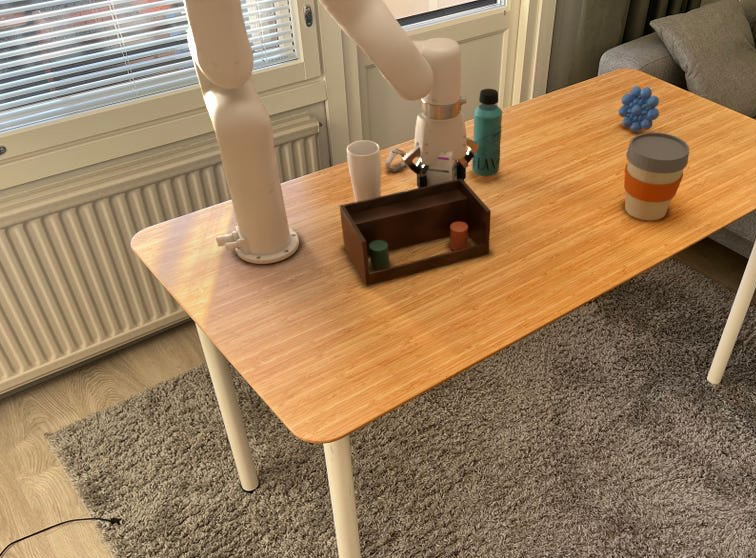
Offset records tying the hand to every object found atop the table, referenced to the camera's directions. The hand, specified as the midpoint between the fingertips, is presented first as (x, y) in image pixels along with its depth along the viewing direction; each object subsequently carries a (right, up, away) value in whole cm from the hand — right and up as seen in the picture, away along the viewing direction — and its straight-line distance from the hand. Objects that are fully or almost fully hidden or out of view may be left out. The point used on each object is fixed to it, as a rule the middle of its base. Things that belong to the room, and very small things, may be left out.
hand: (441, 186), depth 150 cm
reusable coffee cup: (+45, -4, +5) cm, 45 cm away
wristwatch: (-11, +8, +16) cm, 21 cm away
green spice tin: (-12, -19, -12) cm, 25 cm away
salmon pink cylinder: (+4, -14, -6) cm, 16 cm away
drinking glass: (-16, -5, +3) cm, 17 cm away
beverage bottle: (+10, +6, +14) cm, 18 cm away
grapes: (+49, +22, +32) cm, 63 cm away
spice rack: (-5, -15, -8) cm, 17 cm away
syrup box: (0, -4, +4) cm, 6 cm away
